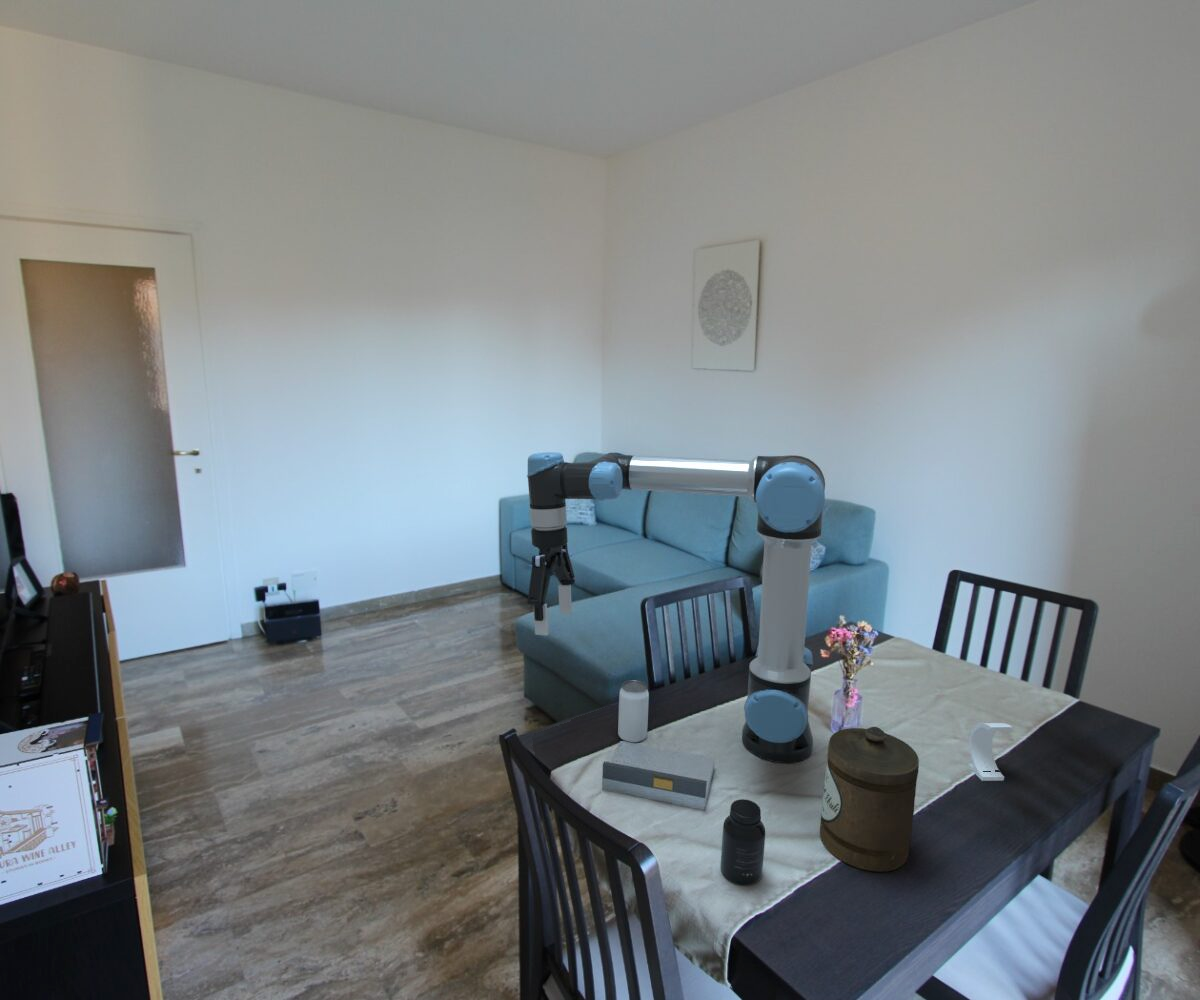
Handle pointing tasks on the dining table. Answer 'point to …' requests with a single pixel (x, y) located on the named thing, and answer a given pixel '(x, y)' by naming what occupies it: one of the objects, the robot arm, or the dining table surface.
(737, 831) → the supplement bottle
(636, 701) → the can
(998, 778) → the headphone stand
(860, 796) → the wooden container
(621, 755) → the grey tray
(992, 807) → the dining table surface
